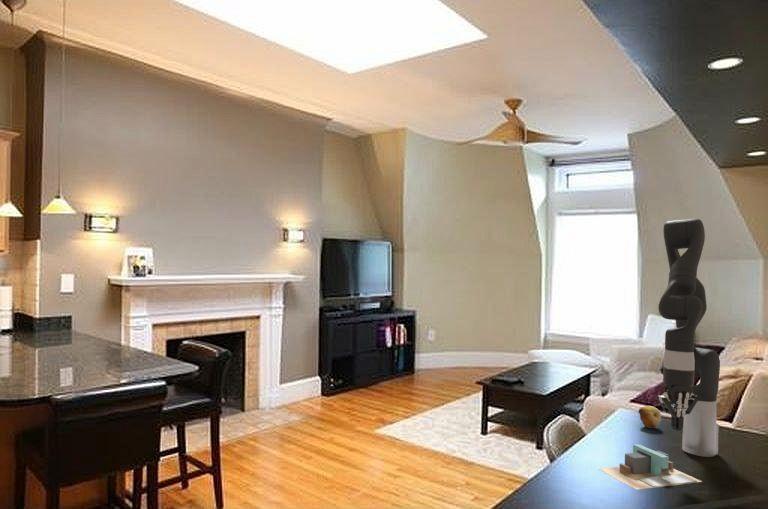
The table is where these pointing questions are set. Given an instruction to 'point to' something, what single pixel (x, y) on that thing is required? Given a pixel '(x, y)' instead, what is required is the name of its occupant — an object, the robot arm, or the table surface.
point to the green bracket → (653, 458)
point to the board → (649, 477)
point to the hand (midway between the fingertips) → (677, 429)
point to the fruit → (650, 416)
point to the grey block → (640, 462)
